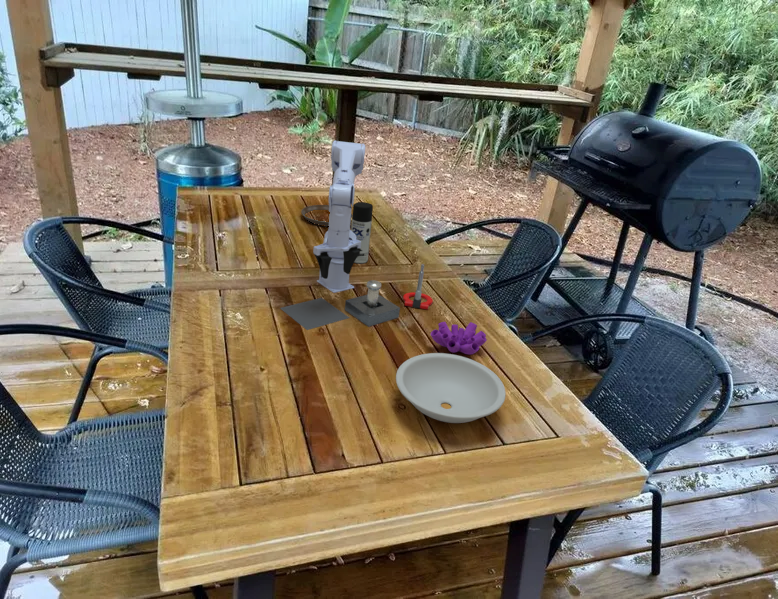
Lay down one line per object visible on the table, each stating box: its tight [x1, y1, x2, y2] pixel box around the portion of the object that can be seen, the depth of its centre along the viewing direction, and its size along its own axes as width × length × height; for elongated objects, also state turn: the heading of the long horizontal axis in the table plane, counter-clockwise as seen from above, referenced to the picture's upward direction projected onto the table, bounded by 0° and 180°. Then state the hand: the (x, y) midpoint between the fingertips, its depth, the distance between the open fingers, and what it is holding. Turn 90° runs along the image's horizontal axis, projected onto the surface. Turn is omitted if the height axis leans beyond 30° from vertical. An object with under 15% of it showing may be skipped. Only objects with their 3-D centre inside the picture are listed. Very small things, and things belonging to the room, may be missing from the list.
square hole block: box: [344, 294, 401, 328], centre depth 159 cm, size 11×11×4 cm
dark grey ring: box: [301, 204, 353, 227], centre depth 229 cm, size 21×21×3 cm
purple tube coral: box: [430, 321, 488, 355], centre depth 146 cm, size 11×15×10 cm
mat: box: [279, 297, 350, 331], centre depth 156 cm, size 14×14×1 cm
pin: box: [366, 279, 382, 309], centre depth 157 cm, size 4×4×10 cm
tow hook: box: [402, 263, 434, 310], centre depth 168 cm, size 9×14×10 cm
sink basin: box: [395, 352, 507, 424], centre depth 123 cm, size 24×24×7 cm
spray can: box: [350, 201, 374, 265], centre depth 190 cm, size 7×7×20 cm
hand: (335, 275), depth 156 cm, fingers open, 7 cm apart
